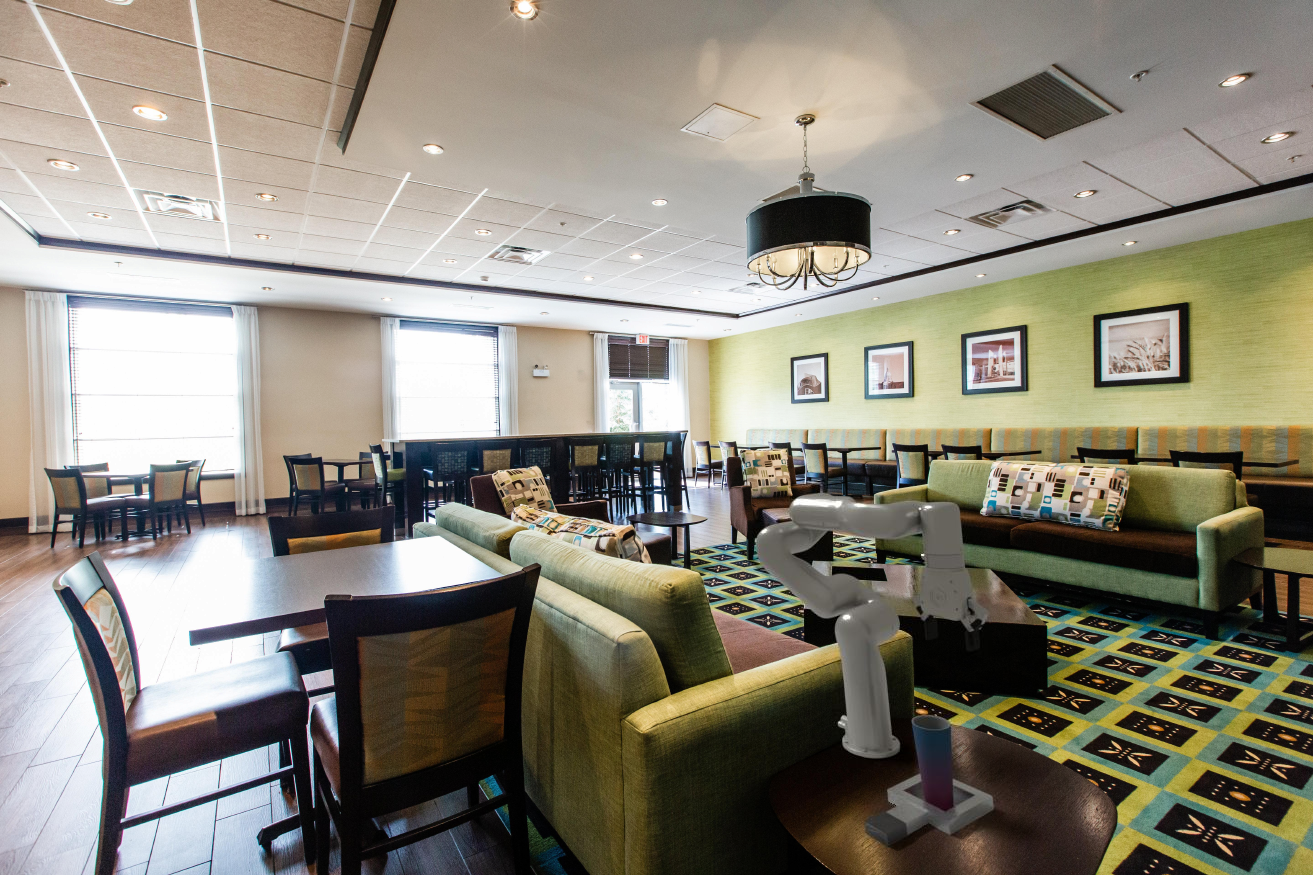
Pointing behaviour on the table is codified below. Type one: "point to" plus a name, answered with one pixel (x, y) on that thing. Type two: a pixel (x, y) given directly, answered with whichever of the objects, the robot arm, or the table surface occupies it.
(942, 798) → the cup
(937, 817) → the holder
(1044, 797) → the table surface
